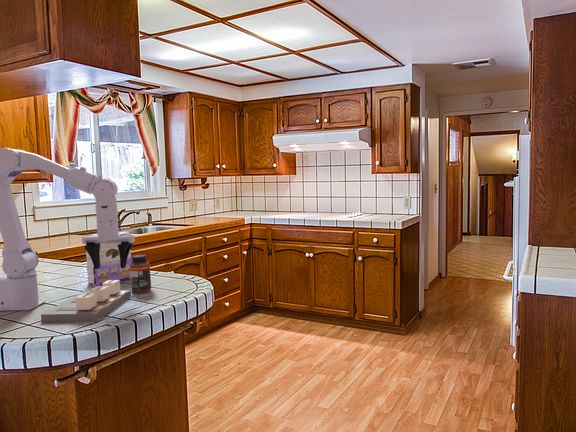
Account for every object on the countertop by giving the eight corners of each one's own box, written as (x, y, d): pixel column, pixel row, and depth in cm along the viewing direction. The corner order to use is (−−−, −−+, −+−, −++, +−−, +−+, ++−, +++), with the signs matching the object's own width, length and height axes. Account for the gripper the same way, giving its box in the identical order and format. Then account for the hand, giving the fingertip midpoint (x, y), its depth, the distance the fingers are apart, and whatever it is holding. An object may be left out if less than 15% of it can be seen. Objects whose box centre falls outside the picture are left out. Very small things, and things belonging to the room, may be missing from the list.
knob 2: (102, 294, 131) (102, 283, 130) (108, 290, 135) (108, 279, 134) (114, 294, 131) (114, 282, 130) (120, 290, 135) (119, 279, 134)
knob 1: (90, 301, 123) (89, 289, 123) (97, 297, 127) (96, 286, 127) (103, 301, 123) (102, 289, 123) (109, 297, 127) (109, 285, 127)
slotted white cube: (76, 310, 116) (75, 297, 115) (83, 305, 120) (83, 293, 119) (90, 309, 116) (89, 297, 115) (97, 305, 120) (96, 292, 119)
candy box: (126, 276, 165) (123, 231, 163) (133, 278, 161) (131, 232, 159) (87, 283, 155) (84, 235, 154) (94, 286, 151) (91, 236, 150)
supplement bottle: (144, 288, 147) (142, 253, 146) (155, 290, 143) (153, 255, 142) (127, 292, 142) (125, 256, 141) (138, 295, 138) (136, 258, 137)
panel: (41, 322, 114) (40, 313, 114) (85, 297, 137) (84, 289, 137) (96, 321, 114) (95, 312, 114) (131, 296, 137) (130, 289, 136)
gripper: (75, 223, 127) (78, 271, 128) (127, 222, 126) (129, 270, 128) (87, 220, 134) (90, 266, 135) (136, 219, 133) (138, 265, 135)
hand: (110, 268), depth 132 cm, fingers open, 7 cm apart
